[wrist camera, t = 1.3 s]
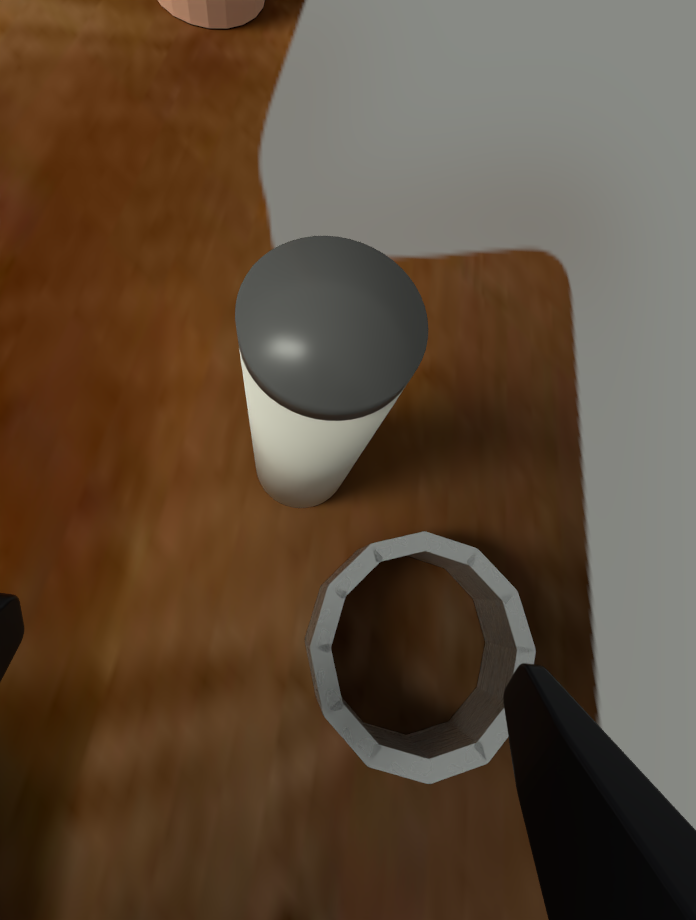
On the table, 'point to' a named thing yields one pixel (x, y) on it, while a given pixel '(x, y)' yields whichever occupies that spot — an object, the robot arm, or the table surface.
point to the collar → (506, 647)
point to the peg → (323, 359)
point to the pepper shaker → (214, 11)
